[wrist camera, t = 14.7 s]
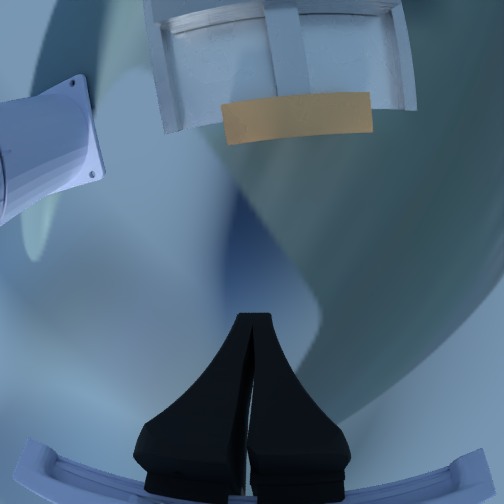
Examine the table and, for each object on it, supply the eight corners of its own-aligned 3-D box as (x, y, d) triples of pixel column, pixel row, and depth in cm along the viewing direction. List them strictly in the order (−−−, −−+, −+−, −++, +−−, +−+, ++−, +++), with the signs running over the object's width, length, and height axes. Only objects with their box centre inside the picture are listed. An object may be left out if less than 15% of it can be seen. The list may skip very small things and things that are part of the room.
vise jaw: (191, 144, 16) (177, 154, 14) (167, 6, 12) (149, -8, 9) (394, 125, 15) (417, 132, 12) (374, -12, 11) (392, -28, 8)
